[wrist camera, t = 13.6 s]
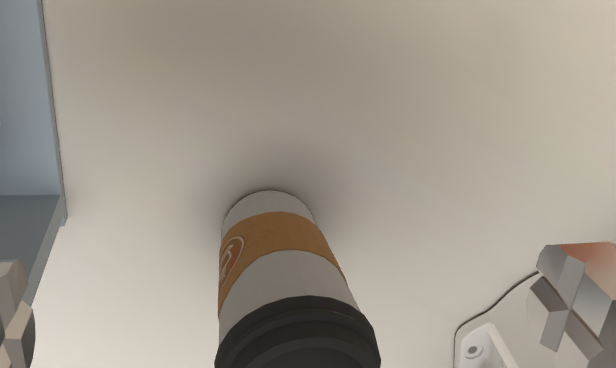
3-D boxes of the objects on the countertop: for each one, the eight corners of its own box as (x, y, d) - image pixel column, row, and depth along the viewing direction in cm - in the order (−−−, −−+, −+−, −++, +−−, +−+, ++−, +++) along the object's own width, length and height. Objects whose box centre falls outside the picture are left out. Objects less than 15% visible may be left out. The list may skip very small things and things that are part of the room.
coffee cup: (231, 158, 37) (255, 311, 24) (344, 192, 40) (420, 346, 27) (189, 260, 40) (191, 443, 27) (298, 285, 43) (345, 463, 30)
